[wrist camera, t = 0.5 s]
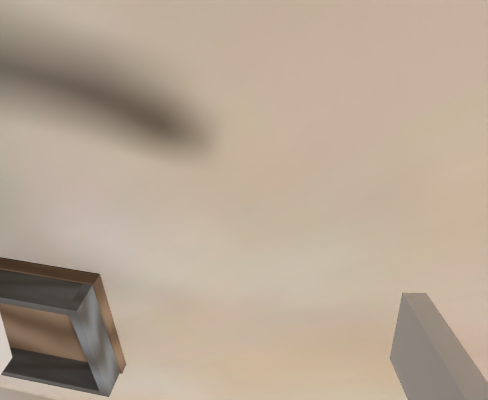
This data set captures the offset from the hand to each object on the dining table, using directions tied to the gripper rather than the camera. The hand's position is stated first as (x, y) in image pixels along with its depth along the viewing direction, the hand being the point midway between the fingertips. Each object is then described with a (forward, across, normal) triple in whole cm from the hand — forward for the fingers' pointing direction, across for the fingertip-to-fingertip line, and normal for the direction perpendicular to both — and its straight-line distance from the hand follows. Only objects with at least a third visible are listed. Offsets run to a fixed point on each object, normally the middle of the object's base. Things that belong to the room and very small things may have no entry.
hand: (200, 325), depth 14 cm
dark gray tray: (+21, -17, -16) cm, 31 cm away
